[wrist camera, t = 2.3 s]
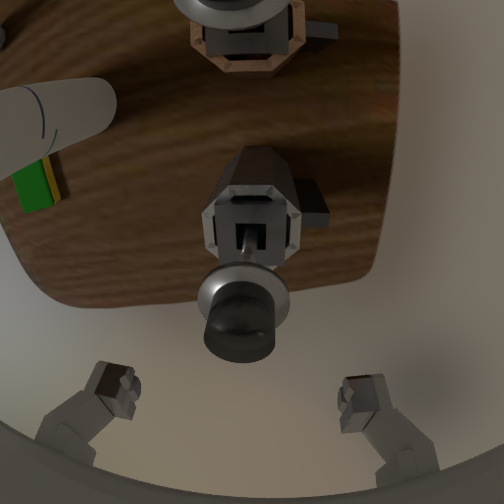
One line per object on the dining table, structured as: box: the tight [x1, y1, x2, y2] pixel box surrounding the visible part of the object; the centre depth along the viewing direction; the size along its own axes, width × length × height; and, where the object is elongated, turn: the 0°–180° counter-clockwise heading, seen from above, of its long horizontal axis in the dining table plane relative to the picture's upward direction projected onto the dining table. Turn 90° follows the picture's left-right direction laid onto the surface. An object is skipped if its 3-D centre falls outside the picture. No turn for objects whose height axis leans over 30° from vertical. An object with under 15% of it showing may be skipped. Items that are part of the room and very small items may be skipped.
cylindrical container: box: [0, 77, 117, 181], centre depth 16 cm, size 7×7×25 cm
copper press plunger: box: [173, 0, 291, 33], centre depth 10 cm, size 4×4×12 cm
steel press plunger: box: [198, 223, 290, 363], centre depth 17 cm, size 4×4×12 cm
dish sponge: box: [11, 155, 61, 213], centre depth 29 cm, size 7×14×2 cm, turn 7°
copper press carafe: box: [190, 0, 338, 79], centre depth 18 cm, size 7×9×13 cm
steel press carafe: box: [202, 147, 330, 270], centre depth 25 cm, size 7×9×13 cm
